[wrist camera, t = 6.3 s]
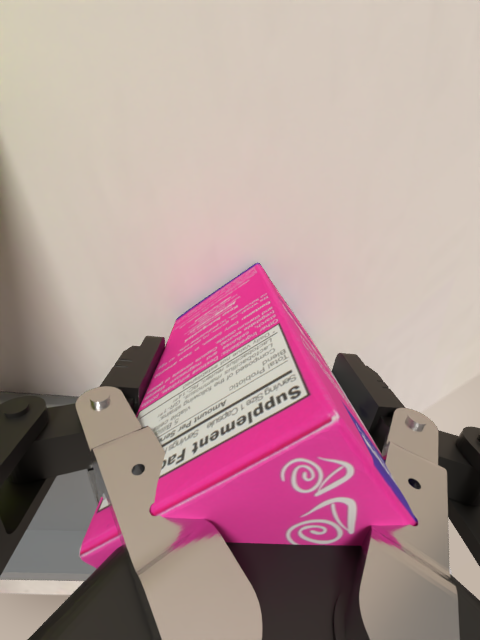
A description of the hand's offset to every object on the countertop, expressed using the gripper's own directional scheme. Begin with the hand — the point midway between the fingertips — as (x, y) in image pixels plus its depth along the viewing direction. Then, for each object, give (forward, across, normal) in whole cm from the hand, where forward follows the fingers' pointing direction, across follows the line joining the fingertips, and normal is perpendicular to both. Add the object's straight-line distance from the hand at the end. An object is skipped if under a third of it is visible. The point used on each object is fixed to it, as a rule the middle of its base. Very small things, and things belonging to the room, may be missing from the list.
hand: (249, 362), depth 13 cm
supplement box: (+4, 0, 0) cm, 4 cm away
